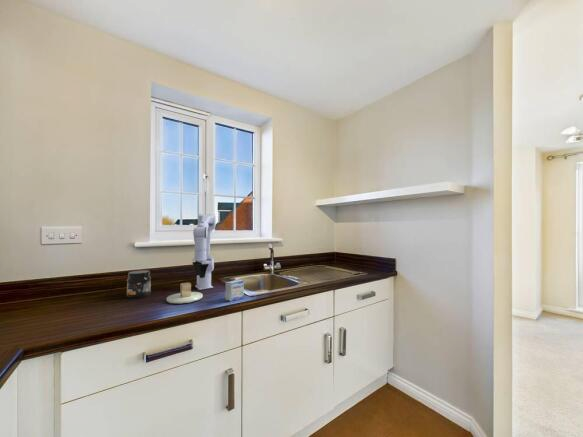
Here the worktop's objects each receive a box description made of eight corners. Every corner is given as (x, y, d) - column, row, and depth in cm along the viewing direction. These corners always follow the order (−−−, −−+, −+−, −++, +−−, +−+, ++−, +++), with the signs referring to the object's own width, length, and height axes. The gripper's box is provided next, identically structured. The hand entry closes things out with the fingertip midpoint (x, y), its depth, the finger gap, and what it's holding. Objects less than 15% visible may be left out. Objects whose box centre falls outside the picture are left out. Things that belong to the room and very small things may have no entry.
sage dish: (164, 298, 120) (164, 295, 120) (198, 293, 130) (198, 290, 130) (169, 307, 107) (169, 303, 107) (206, 300, 116) (206, 297, 116)
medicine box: (231, 302, 115) (231, 283, 115) (225, 300, 117) (225, 282, 118) (244, 298, 121) (244, 280, 121) (238, 296, 124) (238, 279, 124)
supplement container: (122, 296, 123) (122, 272, 124) (143, 291, 133) (143, 269, 133) (134, 299, 118) (134, 274, 119) (155, 294, 128) (155, 271, 128)
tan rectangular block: (180, 296, 119) (180, 283, 119) (189, 294, 121) (189, 282, 122) (182, 297, 116) (182, 285, 116) (190, 296, 118) (191, 284, 118)
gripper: (189, 249, 131) (188, 275, 130) (195, 251, 119) (195, 280, 118) (202, 248, 135) (202, 273, 134) (210, 250, 123) (210, 278, 122)
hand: (200, 276), depth 126 cm, fingers open, 7 cm apart
